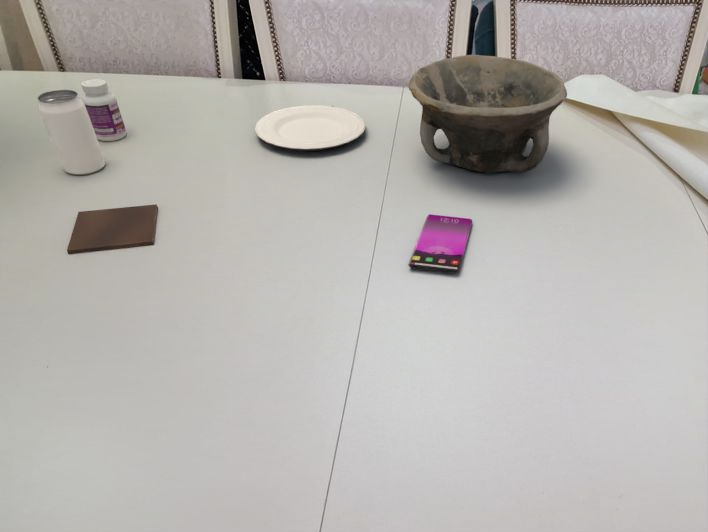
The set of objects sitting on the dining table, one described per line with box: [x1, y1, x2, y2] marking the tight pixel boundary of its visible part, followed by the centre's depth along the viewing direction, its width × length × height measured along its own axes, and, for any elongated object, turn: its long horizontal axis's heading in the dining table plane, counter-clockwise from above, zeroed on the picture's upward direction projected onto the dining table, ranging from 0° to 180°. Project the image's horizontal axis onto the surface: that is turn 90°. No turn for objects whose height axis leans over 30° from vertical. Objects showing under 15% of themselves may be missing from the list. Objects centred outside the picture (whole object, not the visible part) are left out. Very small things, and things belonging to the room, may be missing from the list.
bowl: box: [408, 54, 568, 174], centre depth 109 cm, size 27×26×15 cm
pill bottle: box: [80, 78, 127, 142], centre depth 111 cm, size 5×5×10 cm
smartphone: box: [407, 213, 473, 274], centre depth 92 cm, size 7×15×1 cm, turn 172°
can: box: [37, 89, 106, 176], centre depth 101 cm, size 6×6×12 cm
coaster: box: [66, 203, 158, 255], centre depth 91 cm, size 11×11×1 cm
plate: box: [254, 104, 366, 151], centre depth 119 cm, size 21×21×2 cm
